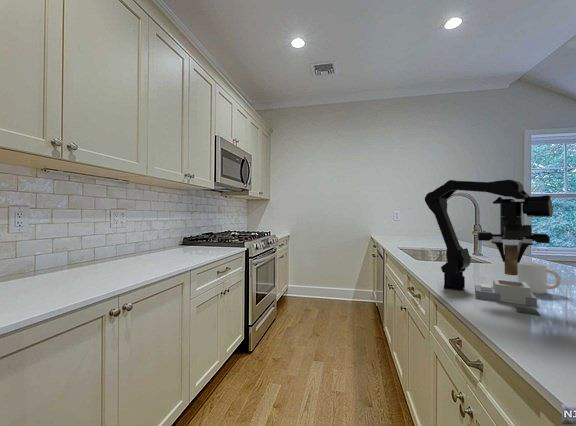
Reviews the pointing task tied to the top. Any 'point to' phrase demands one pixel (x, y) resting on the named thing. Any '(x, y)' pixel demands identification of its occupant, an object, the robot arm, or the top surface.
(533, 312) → the pad
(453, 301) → the top surface
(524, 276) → the mug
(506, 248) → the dowel
